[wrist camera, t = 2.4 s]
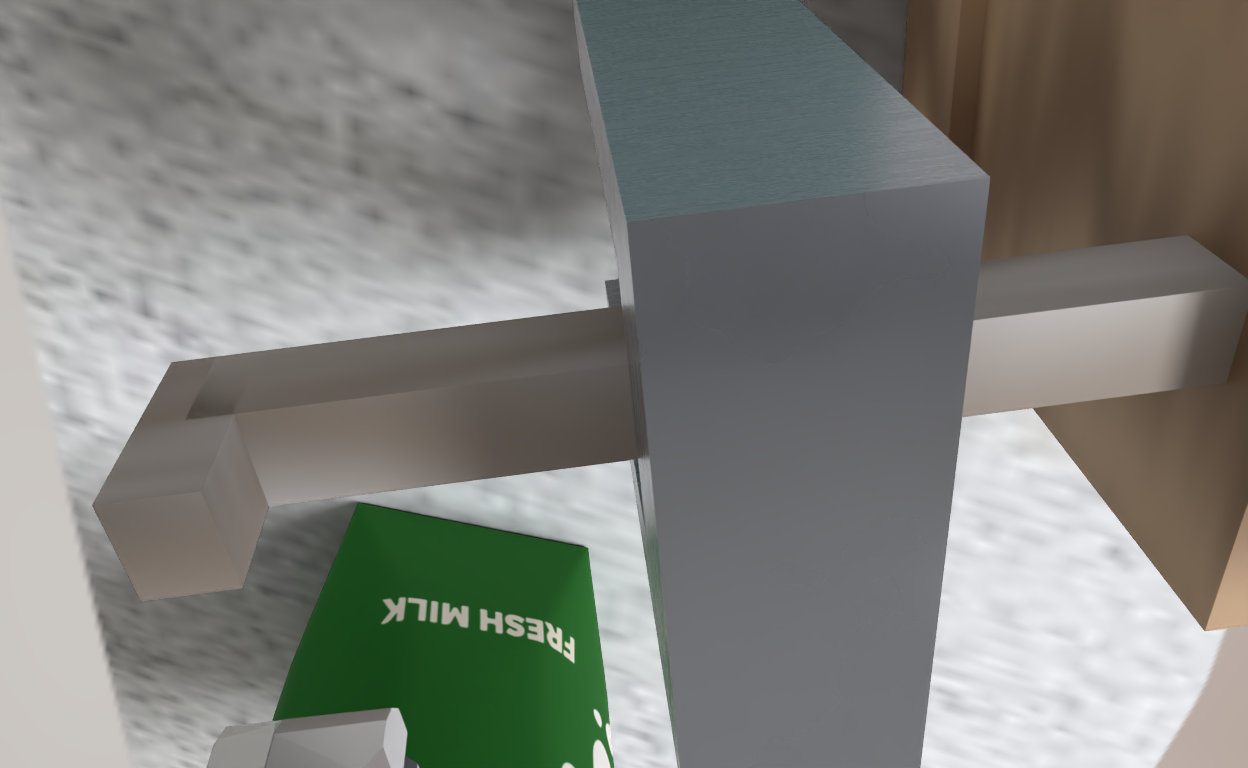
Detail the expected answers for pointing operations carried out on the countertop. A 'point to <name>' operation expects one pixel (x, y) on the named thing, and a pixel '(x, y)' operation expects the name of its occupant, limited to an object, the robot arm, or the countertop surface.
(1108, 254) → the wooden peg hook block
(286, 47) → the countertop surface
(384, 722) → the robot arm
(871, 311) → the grey arched block
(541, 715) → the milk carton
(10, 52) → the countertop surface
